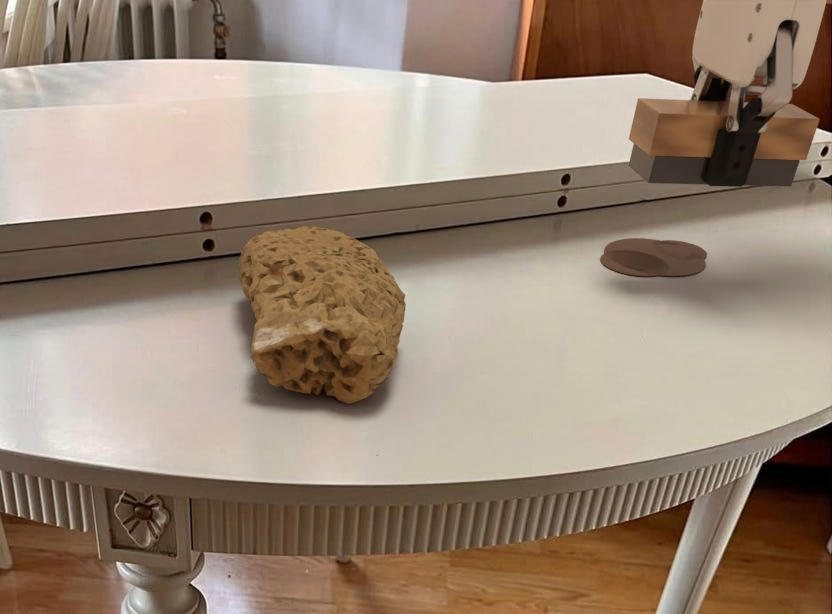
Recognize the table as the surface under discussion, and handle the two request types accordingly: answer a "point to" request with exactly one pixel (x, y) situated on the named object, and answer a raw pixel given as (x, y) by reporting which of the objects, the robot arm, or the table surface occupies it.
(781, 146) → the brush
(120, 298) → the table surface
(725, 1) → the robot arm
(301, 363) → the sponge
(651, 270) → the coffee spill
